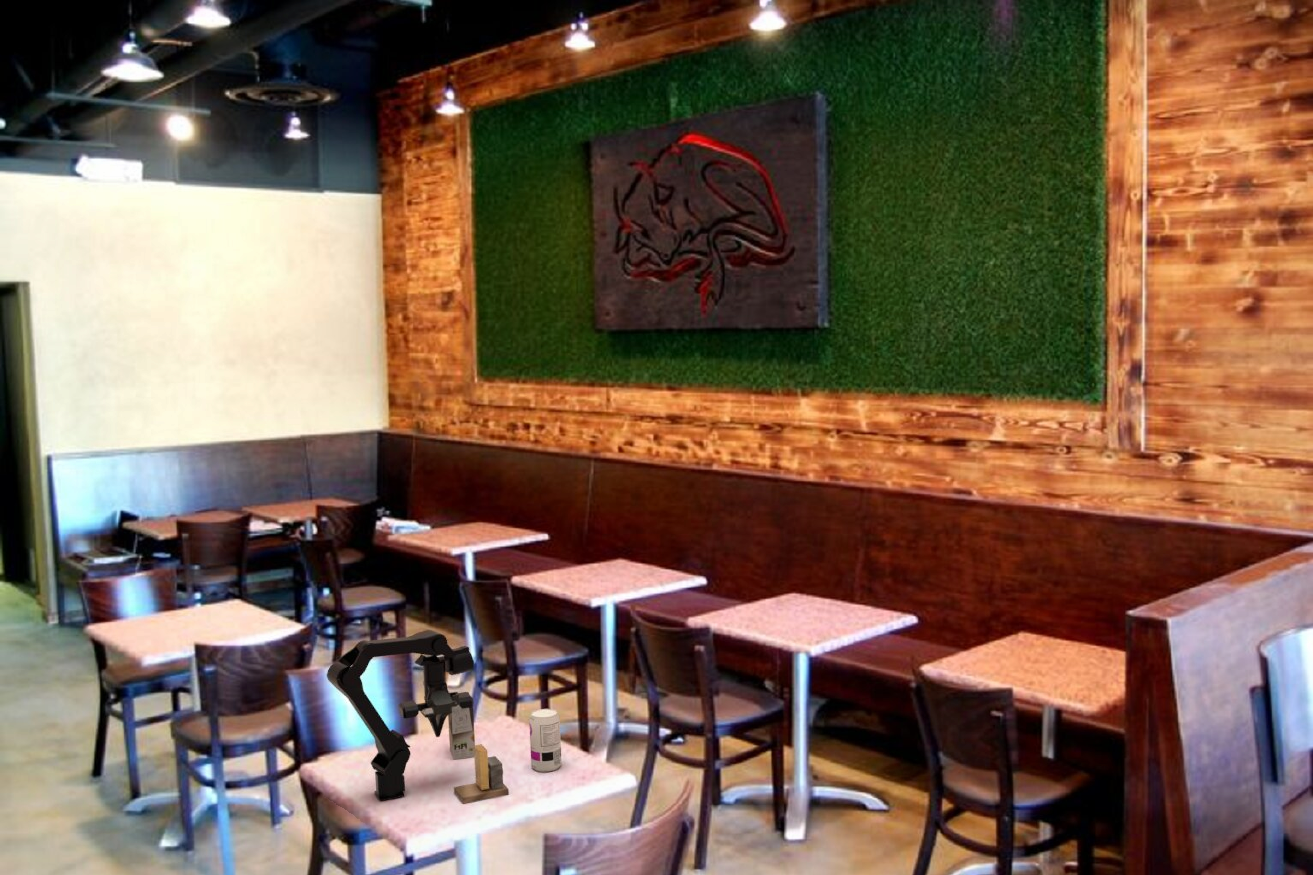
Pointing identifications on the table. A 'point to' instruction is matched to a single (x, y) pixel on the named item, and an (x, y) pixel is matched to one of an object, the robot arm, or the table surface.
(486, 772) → the tan wooden tall block
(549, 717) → the supplement can
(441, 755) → the table surface
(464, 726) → the coffee box
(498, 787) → the peg insertion fixture
